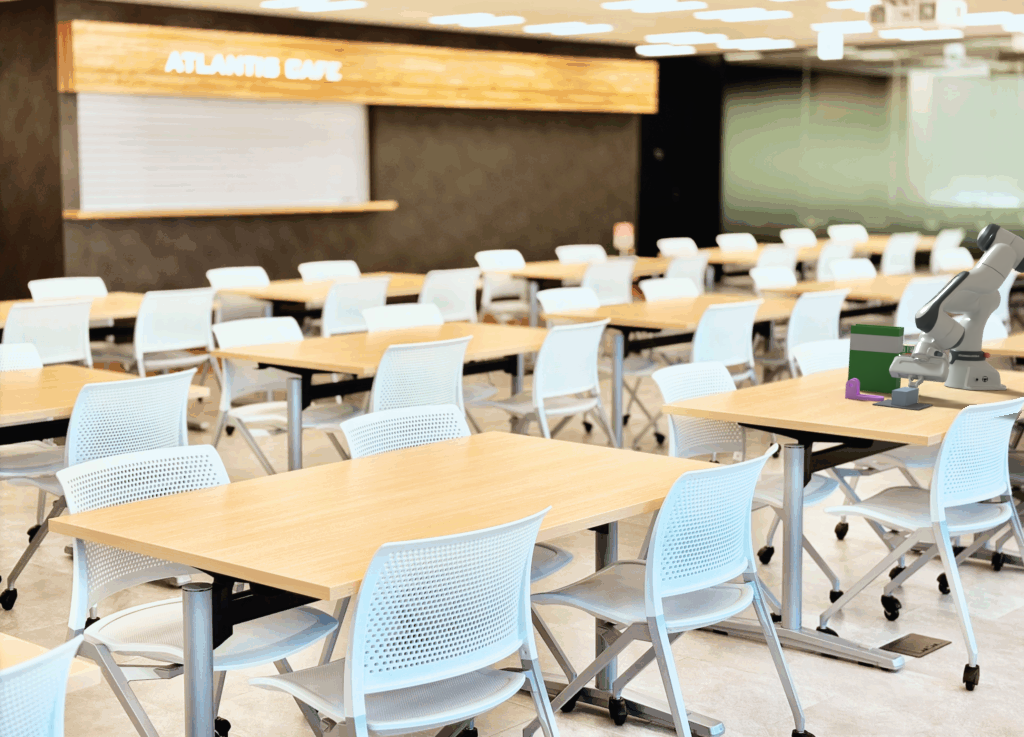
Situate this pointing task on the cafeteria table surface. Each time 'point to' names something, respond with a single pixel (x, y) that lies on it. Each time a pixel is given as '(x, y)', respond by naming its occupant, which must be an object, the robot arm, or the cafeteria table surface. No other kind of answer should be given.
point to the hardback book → (875, 356)
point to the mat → (912, 407)
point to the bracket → (858, 392)
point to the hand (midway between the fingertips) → (912, 387)
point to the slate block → (905, 396)
